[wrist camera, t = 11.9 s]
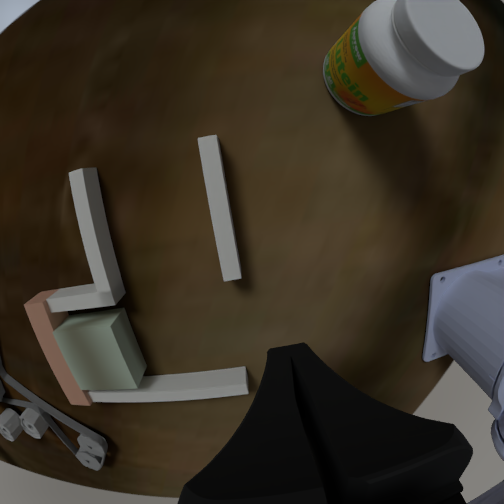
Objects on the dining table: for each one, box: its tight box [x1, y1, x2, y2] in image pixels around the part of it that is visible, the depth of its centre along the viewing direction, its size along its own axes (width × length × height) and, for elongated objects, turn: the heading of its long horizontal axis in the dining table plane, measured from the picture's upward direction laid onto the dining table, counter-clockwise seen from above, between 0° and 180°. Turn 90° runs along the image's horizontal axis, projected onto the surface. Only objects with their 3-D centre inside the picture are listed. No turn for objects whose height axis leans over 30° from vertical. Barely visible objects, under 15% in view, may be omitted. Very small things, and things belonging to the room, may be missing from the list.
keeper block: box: [52, 308, 147, 390], centre depth 19 cm, size 5×5×3 cm
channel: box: [46, 135, 249, 402], centre depth 18 cm, size 14×16×2 cm
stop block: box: [24, 289, 92, 406], centre depth 19 cm, size 2×9×2 cm, turn 9°
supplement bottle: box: [323, 0, 484, 116], centre depth 12 cm, size 5×5×10 cm
